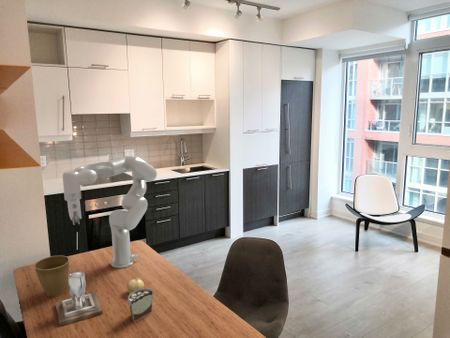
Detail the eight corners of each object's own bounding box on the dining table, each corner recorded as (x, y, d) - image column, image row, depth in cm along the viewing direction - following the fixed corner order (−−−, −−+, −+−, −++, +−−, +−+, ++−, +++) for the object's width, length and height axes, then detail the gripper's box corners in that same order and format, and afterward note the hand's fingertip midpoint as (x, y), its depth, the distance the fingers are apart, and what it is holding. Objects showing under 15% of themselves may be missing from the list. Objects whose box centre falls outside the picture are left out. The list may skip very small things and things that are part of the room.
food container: (145, 305, 154) (144, 285, 153) (154, 310, 151) (153, 289, 149) (122, 318, 145) (121, 296, 143) (131, 324, 141) (129, 301, 139)
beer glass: (81, 311, 147) (78, 279, 145) (66, 310, 149) (63, 278, 146) (90, 303, 154) (88, 272, 151) (76, 301, 155) (74, 270, 153)
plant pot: (41, 287, 170) (38, 257, 167) (73, 283, 175) (71, 253, 172) (34, 303, 156) (31, 271, 153) (70, 298, 161) (67, 266, 158)
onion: (141, 296, 162) (140, 283, 161) (124, 296, 162) (124, 282, 161) (146, 288, 170) (145, 274, 168) (130, 287, 170) (129, 274, 169)
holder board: (95, 295, 163) (95, 289, 162) (102, 313, 148) (102, 307, 148) (56, 305, 155) (55, 299, 154) (59, 326, 140) (58, 319, 140)
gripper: (83, 198, 163) (86, 233, 166) (78, 191, 178) (81, 223, 181) (66, 201, 159) (69, 236, 162) (62, 193, 174) (65, 225, 177)
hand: (75, 229), depth 172 cm, fingers open, 9 cm apart
